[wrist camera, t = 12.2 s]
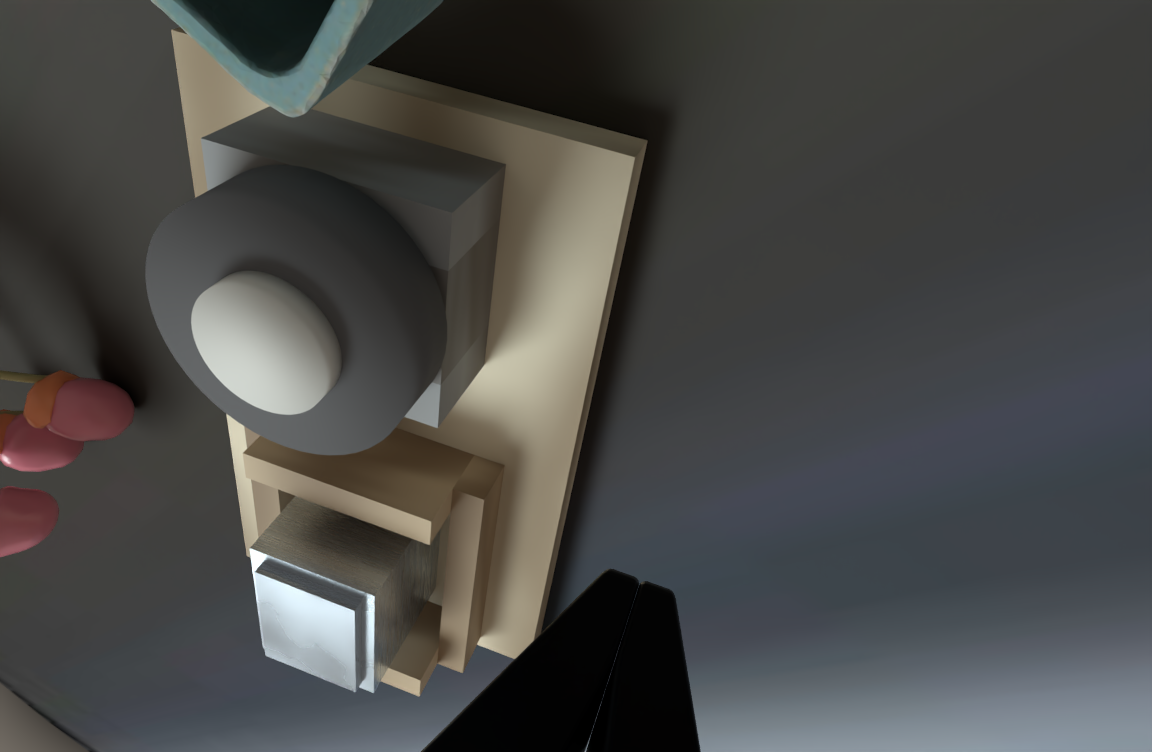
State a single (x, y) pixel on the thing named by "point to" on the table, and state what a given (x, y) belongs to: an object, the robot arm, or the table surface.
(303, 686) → the table surface
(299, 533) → the brushed metal cube
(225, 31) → the flower pot
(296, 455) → the chassis board
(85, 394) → the anatomy model
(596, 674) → the robot arm
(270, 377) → the grey rounded knob
